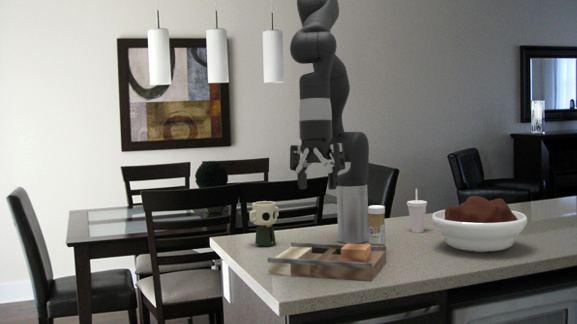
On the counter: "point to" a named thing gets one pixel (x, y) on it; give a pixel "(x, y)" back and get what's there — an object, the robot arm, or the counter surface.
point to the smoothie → (417, 214)
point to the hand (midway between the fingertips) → (317, 189)
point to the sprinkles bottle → (376, 225)
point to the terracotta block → (356, 253)
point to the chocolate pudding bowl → (479, 225)
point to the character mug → (264, 221)
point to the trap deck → (325, 262)
